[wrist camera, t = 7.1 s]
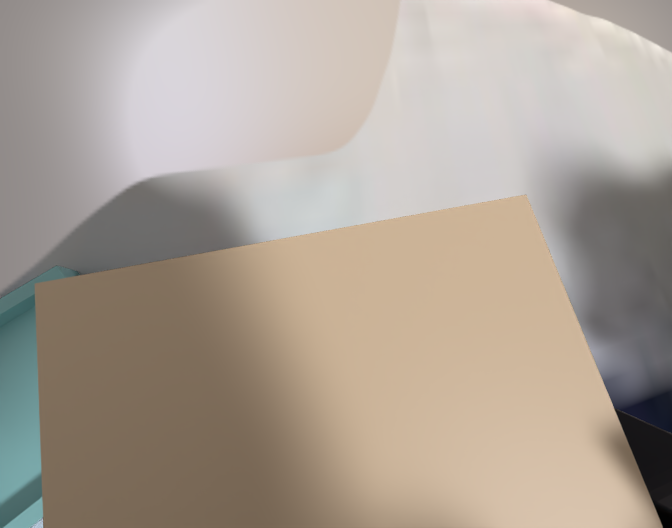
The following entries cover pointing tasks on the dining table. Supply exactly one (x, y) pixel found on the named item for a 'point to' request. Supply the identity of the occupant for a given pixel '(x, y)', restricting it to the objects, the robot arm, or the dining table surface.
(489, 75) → the dining table surface
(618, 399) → the dining table surface
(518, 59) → the dining table surface
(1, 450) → the tray
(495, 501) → the carton
